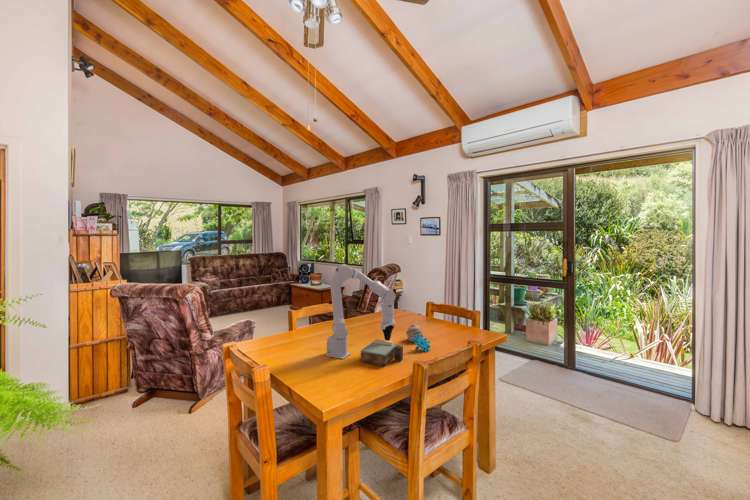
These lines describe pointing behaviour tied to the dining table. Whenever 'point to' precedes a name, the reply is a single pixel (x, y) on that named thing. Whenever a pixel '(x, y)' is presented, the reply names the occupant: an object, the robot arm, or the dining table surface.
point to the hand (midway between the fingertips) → (387, 340)
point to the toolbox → (377, 358)
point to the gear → (421, 343)
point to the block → (398, 353)
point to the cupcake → (413, 332)
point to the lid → (379, 347)
